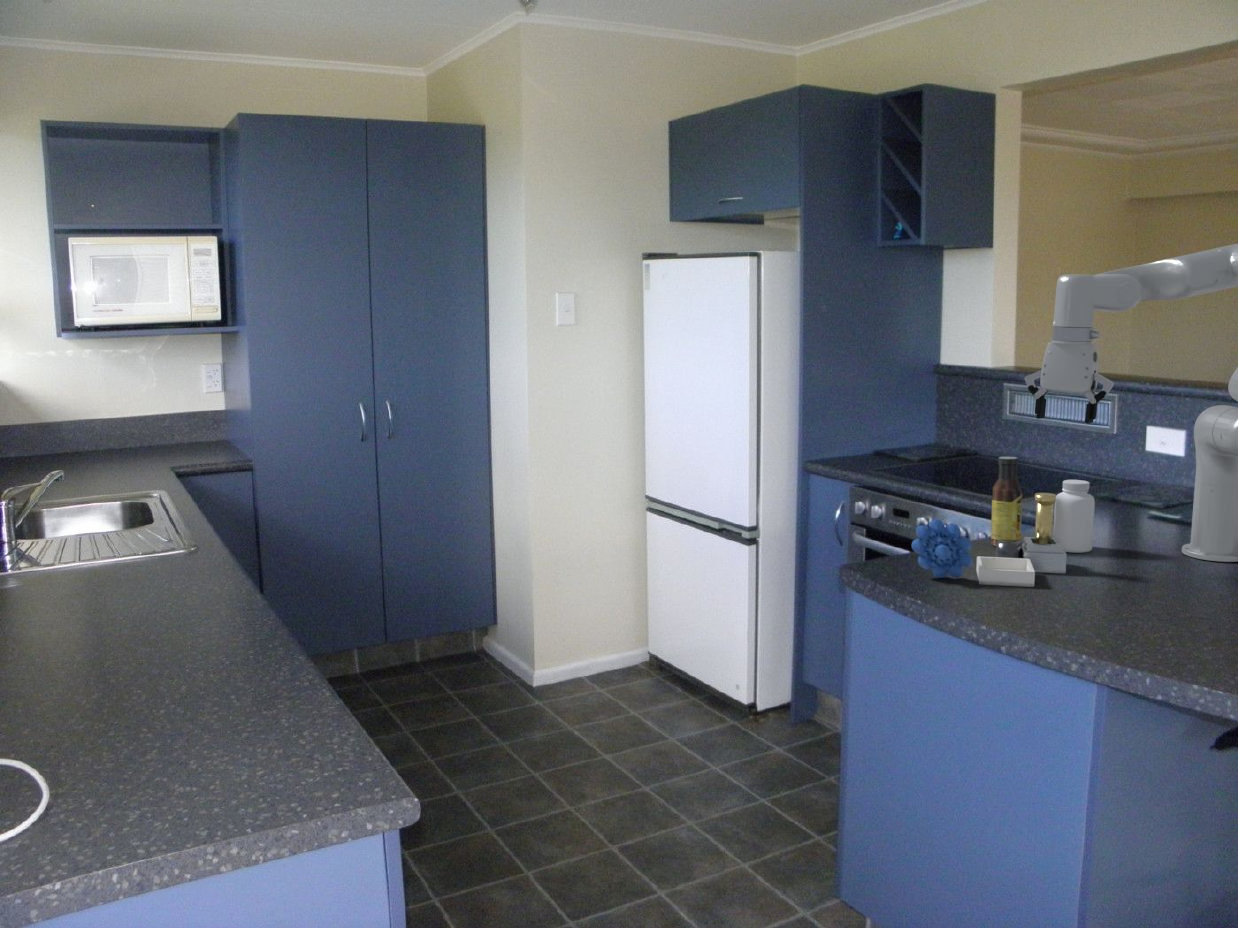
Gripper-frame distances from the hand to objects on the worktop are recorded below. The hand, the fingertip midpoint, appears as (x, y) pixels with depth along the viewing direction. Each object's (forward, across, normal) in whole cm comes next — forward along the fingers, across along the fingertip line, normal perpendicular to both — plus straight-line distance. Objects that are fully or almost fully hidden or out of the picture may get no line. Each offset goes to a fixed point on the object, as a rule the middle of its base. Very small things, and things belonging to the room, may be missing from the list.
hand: (1064, 420), depth 216 cm
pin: (+26, 0, +6) cm, 27 cm away
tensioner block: (+30, +2, +7) cm, 31 cm away
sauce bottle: (+30, +12, -7) cm, 33 cm away
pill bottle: (+30, 0, -12) cm, 32 cm away
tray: (+30, +3, +19) cm, 36 cm away
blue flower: (+31, +12, +27) cm, 43 cm away
